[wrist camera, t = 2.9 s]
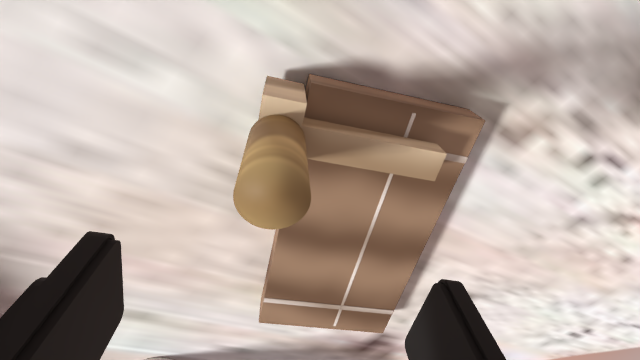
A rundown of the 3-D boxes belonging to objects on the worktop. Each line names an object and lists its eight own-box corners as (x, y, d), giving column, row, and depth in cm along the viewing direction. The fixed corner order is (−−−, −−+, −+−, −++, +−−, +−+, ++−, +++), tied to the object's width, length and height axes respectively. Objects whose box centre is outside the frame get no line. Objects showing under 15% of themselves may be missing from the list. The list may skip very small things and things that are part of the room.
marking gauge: (260, 74, 22) (240, 135, 13) (433, 111, 24) (521, 187, 15) (250, 145, 24) (227, 240, 15) (408, 173, 26) (471, 271, 17)
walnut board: (309, 73, 23) (311, 83, 21) (468, 109, 25) (485, 121, 23) (260, 300, 33) (258, 323, 31) (377, 311, 35) (382, 333, 33)
